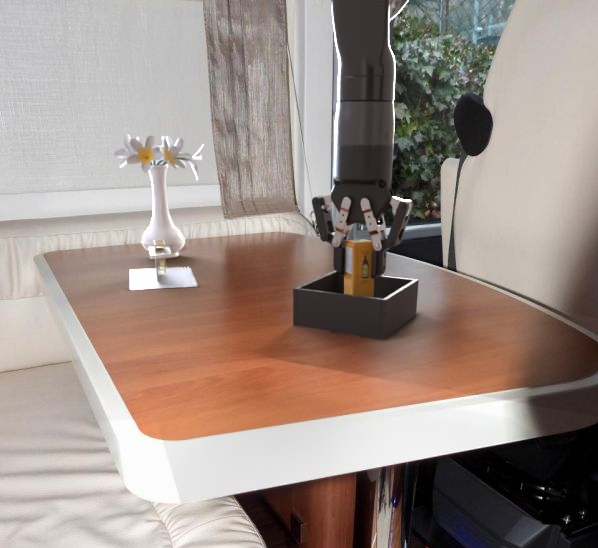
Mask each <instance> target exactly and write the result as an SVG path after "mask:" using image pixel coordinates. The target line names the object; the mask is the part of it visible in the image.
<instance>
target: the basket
mask: <svg viewBox="0 0 598 548" xmlns="http://www.w3.org/2000/svg"><path fill="white" fill-rule="evenodd" d="M419 281H420V280H419V279H416V278H409V277H407V278H406V277H397V276H388V275H381V277H379V278H378V279H374V293H373V297H365V296H357V295H349V294H344V275H337V270H333V271H330V272H328V273H326V274H323V275H321V276H319V277H316V278H314V279H312V280H310V281H308V282H304V283H302V284H300V285H298V286H296V287H294V288H292V326H295V327H302V328H307V329H315V330H319V331H320V330H322V331H326V332H327V331H328V332H334V333H341V334H347V335H354V336H360V337H365V338H366V337H367V338H373V339H379V340H385V339H386V338H387V337H389V336H390V335H392V334H393V333H394V332H396V331H397V330H398V329H399V328H400V327H402V326H403V325H405V324H406V323H408V321H410V320H411V319H412V318H413V317H415V316H417V307H418V297H419V296H418V295H419Z"/></svg>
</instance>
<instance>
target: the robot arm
mask: <svg viewBox="0 0 598 548" xmlns="http://www.w3.org/2000/svg"><path fill="white" fill-rule="evenodd" d="M408 2H409V0H330V7H331V18H332V26H333V34H334V43H335V48H336V54H337V64H338V65H337V83H336V84H337V85H336V87H337V88H336V91H337V92H336V101H337V102H336V107H335V108H336V109H335V115H334V127H333V128H334V129H333V134H332V135H333V174H332V175H333V176H332V177H333V178H332V179H333V186H332V188H331V191H330V193H328V194H325V195H323V194H322V195H317V196H313V198H312V199H311V204H312V210H313V213H314V217H315V222H316V225H317V231H318V234H319V238H320V241H322V242H327V243H329V244H331V246H332V248H333V263H332V264H333V265H332V266H333V271H337V275H344V268H345V241H349V237H350V234H351V231H352V229H353V228H354V226H355V224H360V225H363V226H366V229H367V233H368V234H369V236H370V239H371V240H370V241H372V244H373V248H374V251H372V263H371V278H373V279H378V278H379V277H381V276H382V275H383V274H385V272H386V269H387V255H388V254H387V252H388V249H389V248H393V247H396V246H398V245H400V244H401V243H402V240H403V237H404V234H405V232H406V228H407V226H408V223H409V220H410V217H411V214H412V211H413V209H414V204H415V203H414V202H413V200H411V199H403V198H400V197H397V196H395V194H394V191H393V188H392V179H393V159H394V143H395V141H394V140H395V125H396V124H395V123H396V121H395V105H394V104H395V103H394V100H395V88H396V87H395V86H396V85H395V84H396V60H395V55H394V53H393V51H392V49H391V45H390V22H391V20H393V19H394V18H395V17H396V16H397V15H398V14H400V12H401V11H402V10H403V8H405V6H406V4H407V3H408ZM333 206H334V207H335V209H336V210H337V212H338V215H337V216H338V217H337V219H336V223H335V226H334V221H333V218H332V212H331V210H332V209H333ZM390 206H391V208H392V209H391V213H392V215H393V216H394V217H393V219H392V223H391V225H390V229H389V232H388V236H387V231H386V229H387V224H386V221H385V217H384V215H385V213H386V212H387V210H388V209H389V207H390Z"/></svg>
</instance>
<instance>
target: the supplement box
mask: <svg viewBox="0 0 598 548" xmlns="http://www.w3.org/2000/svg"><path fill="white" fill-rule="evenodd" d="M372 251H374V248H373V244H372V240H370V239H367V238H366V239H365V238H364V239H363V238H362V239H350V240H349V239H348V241H345V268H344V294H349V295H357V296H365V297H373V293H374V279H373V278H371V263H372Z"/></svg>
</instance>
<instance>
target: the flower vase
mask: <svg viewBox="0 0 598 548" xmlns="http://www.w3.org/2000/svg"><path fill="white" fill-rule="evenodd" d="M123 144H124V147H125V148H119V149H117V150H115V152H114V154H113V156H114V157H115V158H118V159H121V160H120V162H119V164H118V168H119V169H122V168H123V167H125V165H126V164H128V165H137V164H140V168H141V171H142V172H143V173H145V174H147V173H149V177H150V181H151V190H152V217H151V220H150V224H149V225H148V226H147V228H146V229H145V230H144V232H143V234H142V236H141V245H142V246H143V248H144V250H146V251H147V252H149V247H153V246H154V240H163V241H164V244H165V247H169V248H170V251H171V256H170V257H165V259H167V260H168V259H174V258H178V257H179V255H180V251H181V250H182V249H183V248H184V246H185V244H186V239H185V236H184V234H183V232H182V231H181V230H180V229H179V228H178V227H177V226H176V225H175V223H174V221H173V219H172V217H171V213H170V209H169V202H168V193H167V192H168V191H167V176H168V175H167V173H168V169H169V167H171V169H173V170H174V171H176V170H177V167H178V168H181V169H183V170H186V169H187V164H186V162H188V163H189V164H190V167H191V169H192V171H193V173H194V175H195V176H194V177H195V178H196V181H198V180H199V166H200V165H201V164H202V161H203V155H202V152H203V150H204V149H203V148H204V145H205V143H203V144H202V145H201V146H200V148H199V149H198V150H197V152H196V153H194V155H192V154H191V153H189V152H188V151H187V152H186V151H183V150H184V149H185V139H184V138H182V137H178V138H177V139H176V141H175V143H174V141H173V140H172V138H171V137H170V136H169V135H166V136H164V135H162V136H161V144H160V145H156V137H155V136H154V135H153V134H151V135H149V136H146V137H145V140H144V144H142V143H141V141H140V137H139V136H136V137H135V138H132V137H131V136H130V134H129V133H126V134H125V135H124V139H123ZM155 245H156V246H159V247H163V243H161V242H155ZM157 253H164V251H157ZM160 259H164V258H160Z"/></svg>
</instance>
